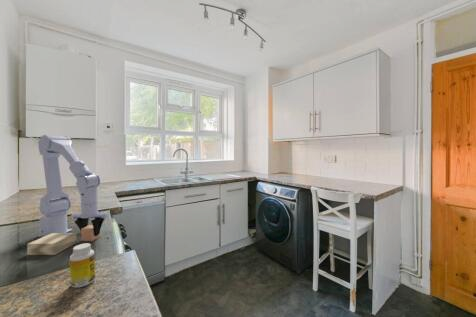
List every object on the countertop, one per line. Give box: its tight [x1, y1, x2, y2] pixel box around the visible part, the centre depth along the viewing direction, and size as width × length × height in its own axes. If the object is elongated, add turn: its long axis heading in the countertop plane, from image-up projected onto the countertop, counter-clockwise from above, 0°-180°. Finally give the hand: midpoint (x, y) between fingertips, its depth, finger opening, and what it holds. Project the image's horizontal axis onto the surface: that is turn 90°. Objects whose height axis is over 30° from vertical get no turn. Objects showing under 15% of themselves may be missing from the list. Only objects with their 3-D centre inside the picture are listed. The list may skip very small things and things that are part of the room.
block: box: [80, 224, 101, 242], centre depth 90 cm, size 5×5×5 cm
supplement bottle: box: [69, 242, 96, 289], centre depth 59 cm, size 6×6×10 cm
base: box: [26, 232, 77, 256], centre depth 81 cm, size 10×10×4 cm
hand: (90, 235), depth 90 cm, fingers closed on block, 5 cm apart
